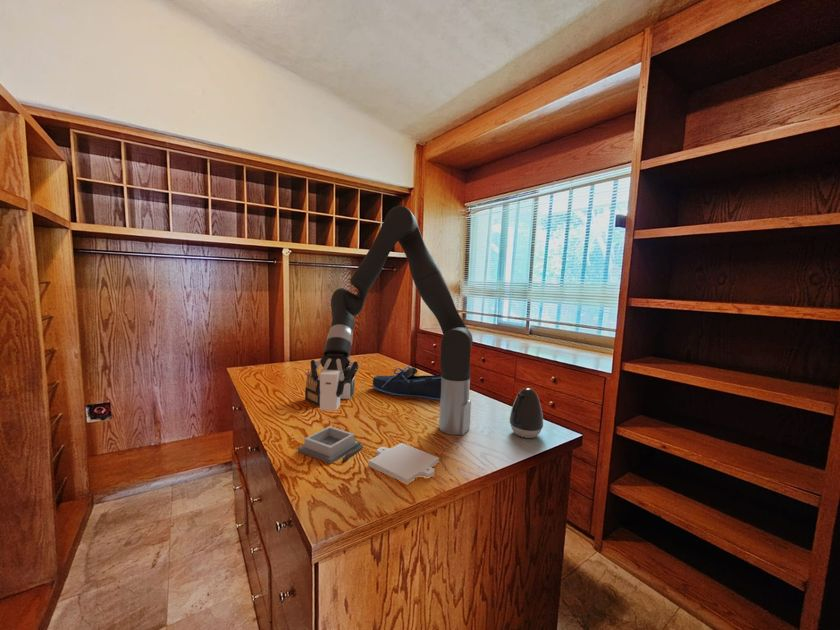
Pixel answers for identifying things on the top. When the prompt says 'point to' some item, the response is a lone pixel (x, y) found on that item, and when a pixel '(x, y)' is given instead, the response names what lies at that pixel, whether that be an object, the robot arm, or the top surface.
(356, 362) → the robot arm
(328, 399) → the charger
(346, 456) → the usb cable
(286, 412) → the top surface
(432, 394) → the moccasin
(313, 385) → the pencil set
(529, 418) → the dark grey egg shape
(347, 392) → the medicine bottle
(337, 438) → the grey square tray
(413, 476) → the mounting plate
